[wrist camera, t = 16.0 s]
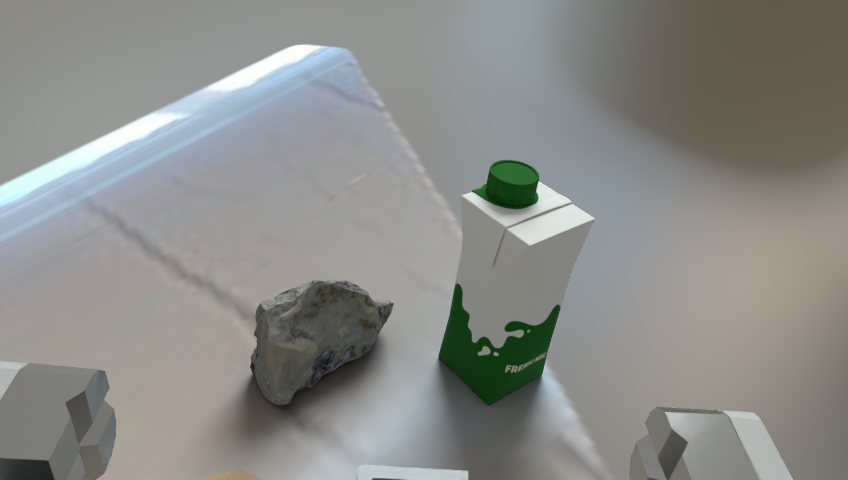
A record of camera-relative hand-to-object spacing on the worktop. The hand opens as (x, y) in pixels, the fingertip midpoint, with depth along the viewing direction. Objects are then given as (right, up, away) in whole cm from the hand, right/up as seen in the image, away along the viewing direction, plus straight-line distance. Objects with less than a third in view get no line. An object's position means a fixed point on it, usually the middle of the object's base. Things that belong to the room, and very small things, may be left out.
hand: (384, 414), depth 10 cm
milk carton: (+7, -9, +55) cm, 56 cm away
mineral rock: (-8, -9, +53) cm, 54 cm away
